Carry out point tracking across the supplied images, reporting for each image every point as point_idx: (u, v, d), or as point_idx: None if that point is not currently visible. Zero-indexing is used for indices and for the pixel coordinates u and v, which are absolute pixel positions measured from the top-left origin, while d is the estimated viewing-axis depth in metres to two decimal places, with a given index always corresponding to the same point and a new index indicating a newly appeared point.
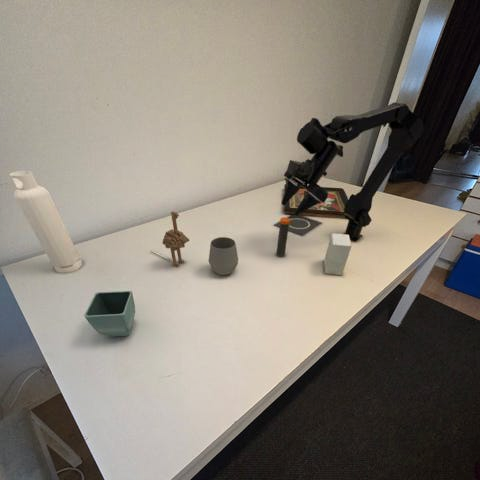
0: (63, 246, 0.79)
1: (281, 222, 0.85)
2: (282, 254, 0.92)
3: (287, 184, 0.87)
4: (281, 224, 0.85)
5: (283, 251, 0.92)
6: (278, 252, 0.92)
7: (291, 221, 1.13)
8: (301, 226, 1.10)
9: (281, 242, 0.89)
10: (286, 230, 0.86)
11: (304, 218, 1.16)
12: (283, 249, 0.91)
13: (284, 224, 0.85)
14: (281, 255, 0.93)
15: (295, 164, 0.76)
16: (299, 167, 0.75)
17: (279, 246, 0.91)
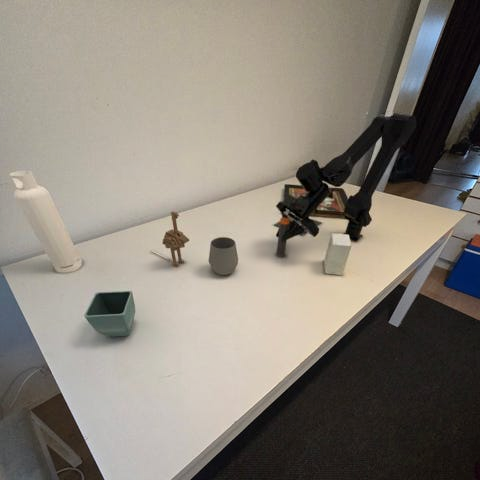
0: (63, 246, 0.79)
1: (281, 222, 0.85)
2: (282, 254, 0.92)
3: None
4: (281, 224, 0.85)
5: (283, 251, 0.92)
6: (278, 252, 0.92)
7: None
8: None
9: (281, 242, 0.89)
10: (286, 230, 0.86)
11: None
12: (283, 249, 0.91)
13: (284, 224, 0.85)
14: (281, 255, 0.93)
15: (292, 198, 0.79)
16: (296, 201, 0.79)
17: (279, 246, 0.91)
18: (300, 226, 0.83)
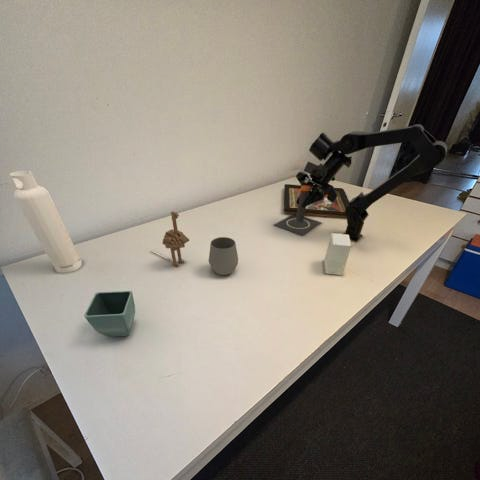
0: (63, 246, 0.79)
1: (302, 189, 0.93)
2: (301, 221, 1.01)
3: None
4: (302, 191, 0.94)
5: (302, 218, 1.00)
6: (298, 219, 1.01)
7: (291, 221, 1.13)
8: (301, 226, 1.10)
9: (301, 208, 0.98)
10: (306, 197, 0.95)
11: (304, 218, 1.16)
12: (302, 216, 1.00)
13: (305, 191, 0.93)
14: (300, 221, 1.01)
15: (314, 165, 0.88)
16: (317, 168, 0.87)
17: (299, 213, 0.99)
18: (320, 192, 0.92)
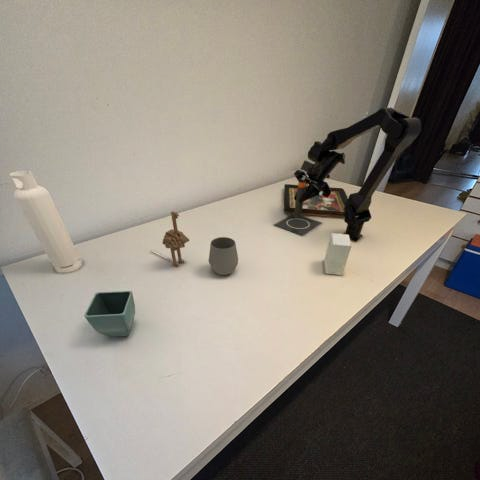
0: (63, 246, 0.79)
1: (299, 185, 1.01)
2: (299, 215, 1.09)
3: None
4: (299, 188, 1.02)
5: (300, 213, 1.08)
6: (296, 213, 1.09)
7: (291, 221, 1.13)
8: (301, 226, 1.10)
9: (298, 203, 1.06)
10: (303, 193, 1.03)
11: (304, 218, 1.16)
12: (300, 210, 1.08)
13: (301, 187, 1.01)
14: (298, 216, 1.09)
15: (310, 163, 0.96)
16: (313, 166, 0.95)
17: (297, 208, 1.07)
18: (315, 188, 1.00)
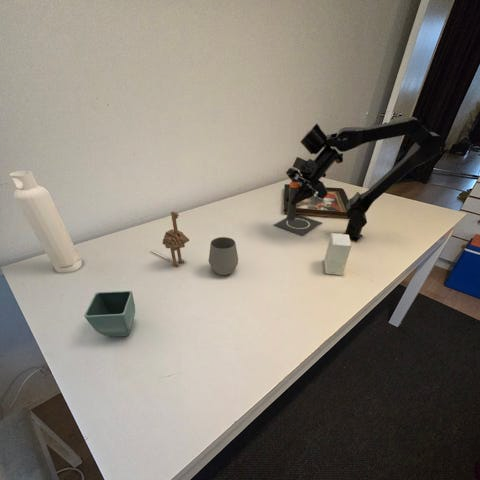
0: (63, 246, 0.79)
1: (291, 186, 0.90)
2: (292, 219, 0.97)
3: None
4: (290, 188, 0.90)
5: (293, 216, 0.97)
6: (288, 217, 0.97)
7: None
8: (301, 226, 1.10)
9: (291, 206, 0.94)
10: (296, 193, 0.91)
11: (304, 218, 1.16)
12: (293, 213, 0.96)
13: (293, 187, 0.90)
14: (291, 220, 0.98)
15: (302, 160, 0.84)
16: (306, 163, 0.83)
17: (289, 210, 0.95)
18: (309, 188, 0.88)
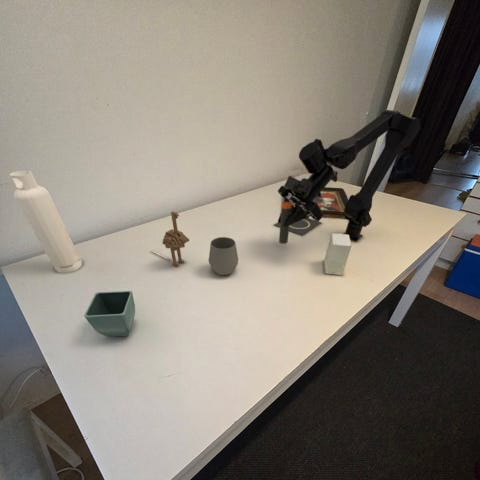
0: (63, 246, 0.79)
1: (283, 206, 0.81)
2: (285, 241, 0.89)
3: None
4: (282, 209, 0.82)
5: (286, 238, 0.88)
6: (281, 239, 0.89)
7: None
8: (301, 226, 1.10)
9: (283, 228, 0.86)
10: (288, 215, 0.83)
11: None
12: (286, 235, 0.88)
13: (286, 208, 0.81)
14: (284, 242, 0.89)
15: (295, 180, 0.76)
16: (299, 183, 0.75)
17: (281, 232, 0.87)
18: (303, 210, 0.80)
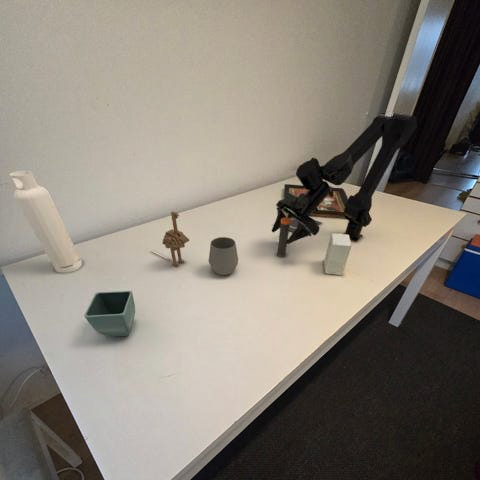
0: (63, 246, 0.79)
1: (282, 222, 0.85)
2: (283, 254, 0.92)
3: (279, 213, 0.89)
4: (282, 224, 0.85)
5: (284, 251, 0.92)
6: (279, 252, 0.92)
7: (291, 221, 1.13)
8: None
9: (282, 242, 0.89)
10: (287, 230, 0.86)
11: None
12: (284, 249, 0.91)
13: (285, 224, 0.85)
14: (282, 255, 0.93)
15: (293, 196, 0.79)
16: (296, 199, 0.78)
17: (280, 246, 0.91)
18: (306, 228, 0.81)
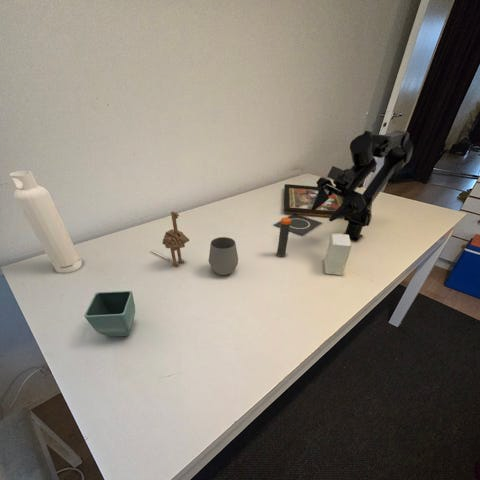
0: (63, 246, 0.79)
1: (282, 222, 0.85)
2: (283, 254, 0.92)
3: (320, 191, 0.87)
4: (282, 224, 0.85)
5: (284, 251, 0.92)
6: (279, 252, 0.92)
7: (291, 221, 1.13)
8: (301, 226, 1.10)
9: (282, 242, 0.89)
10: (287, 230, 0.86)
11: (304, 218, 1.16)
12: (284, 249, 0.91)
13: (285, 224, 0.85)
14: (282, 255, 0.93)
15: (340, 170, 0.76)
16: (344, 173, 0.76)
17: (280, 246, 0.91)
18: (352, 204, 0.79)
